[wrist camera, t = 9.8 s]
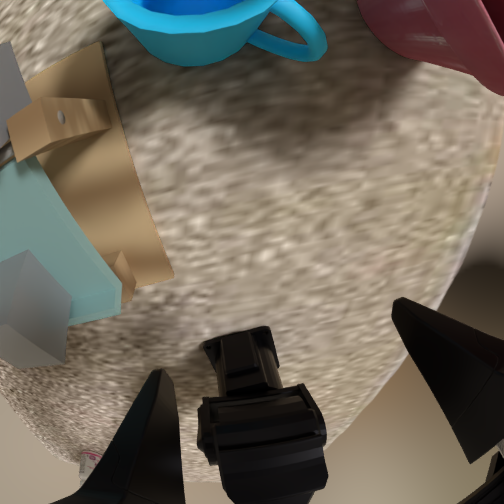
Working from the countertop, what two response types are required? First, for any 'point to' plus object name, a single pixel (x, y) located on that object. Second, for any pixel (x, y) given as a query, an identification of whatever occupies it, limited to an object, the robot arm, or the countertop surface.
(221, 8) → the mug
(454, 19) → the plant pot
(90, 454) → the pill bottle
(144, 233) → the frame
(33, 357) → the gray cube
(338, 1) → the countertop surface
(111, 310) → the trapdoor
